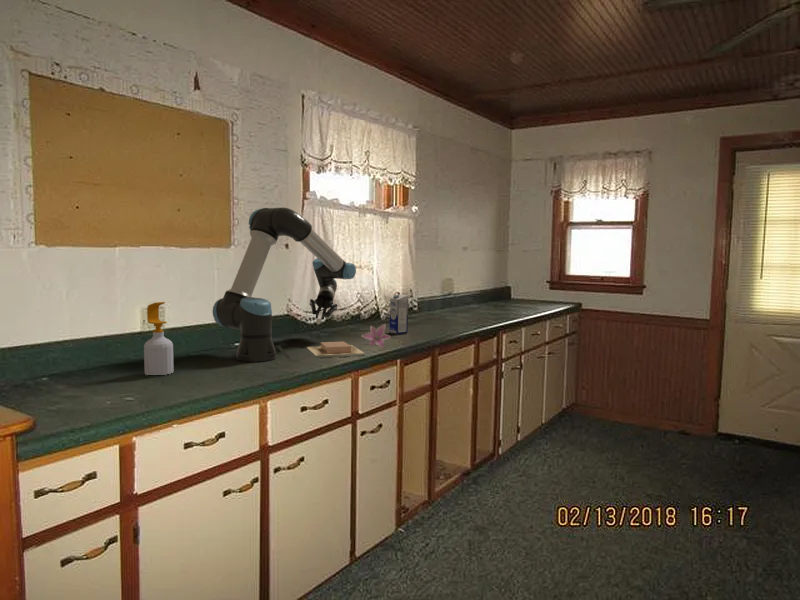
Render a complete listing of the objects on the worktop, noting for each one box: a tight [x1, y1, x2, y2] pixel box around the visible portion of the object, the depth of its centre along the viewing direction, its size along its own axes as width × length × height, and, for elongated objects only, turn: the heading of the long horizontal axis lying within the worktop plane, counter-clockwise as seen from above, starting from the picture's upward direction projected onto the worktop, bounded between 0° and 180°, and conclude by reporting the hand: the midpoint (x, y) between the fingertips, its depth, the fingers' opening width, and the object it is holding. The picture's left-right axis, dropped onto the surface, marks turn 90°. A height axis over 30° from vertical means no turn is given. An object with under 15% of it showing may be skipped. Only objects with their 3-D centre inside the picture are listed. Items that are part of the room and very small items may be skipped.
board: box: [306, 344, 365, 359], centre depth 233 cm, size 20×20×1 cm
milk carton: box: [389, 293, 409, 335], centre depth 288 cm, size 7×7×20 cm
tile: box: [320, 341, 351, 354], centre depth 231 cm, size 10×3×12 cm
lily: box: [360, 323, 392, 349], centre depth 249 cm, size 12×12×10 cm
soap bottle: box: [143, 301, 175, 376], centre depth 190 cm, size 9×9×25 cm
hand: (318, 321), depth 242 cm, fingers closed
